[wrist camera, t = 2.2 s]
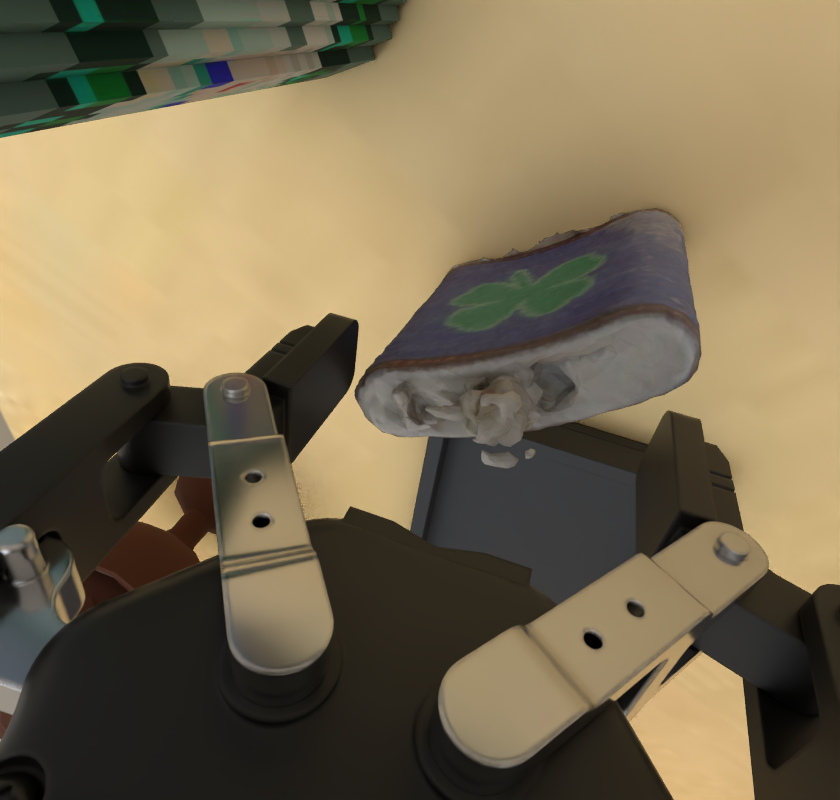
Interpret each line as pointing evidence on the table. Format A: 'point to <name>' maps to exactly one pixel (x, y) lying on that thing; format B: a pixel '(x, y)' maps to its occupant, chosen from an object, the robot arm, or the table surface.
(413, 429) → the flask
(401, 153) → the table surface
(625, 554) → the tray
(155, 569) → the ice cream bowl
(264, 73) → the can
